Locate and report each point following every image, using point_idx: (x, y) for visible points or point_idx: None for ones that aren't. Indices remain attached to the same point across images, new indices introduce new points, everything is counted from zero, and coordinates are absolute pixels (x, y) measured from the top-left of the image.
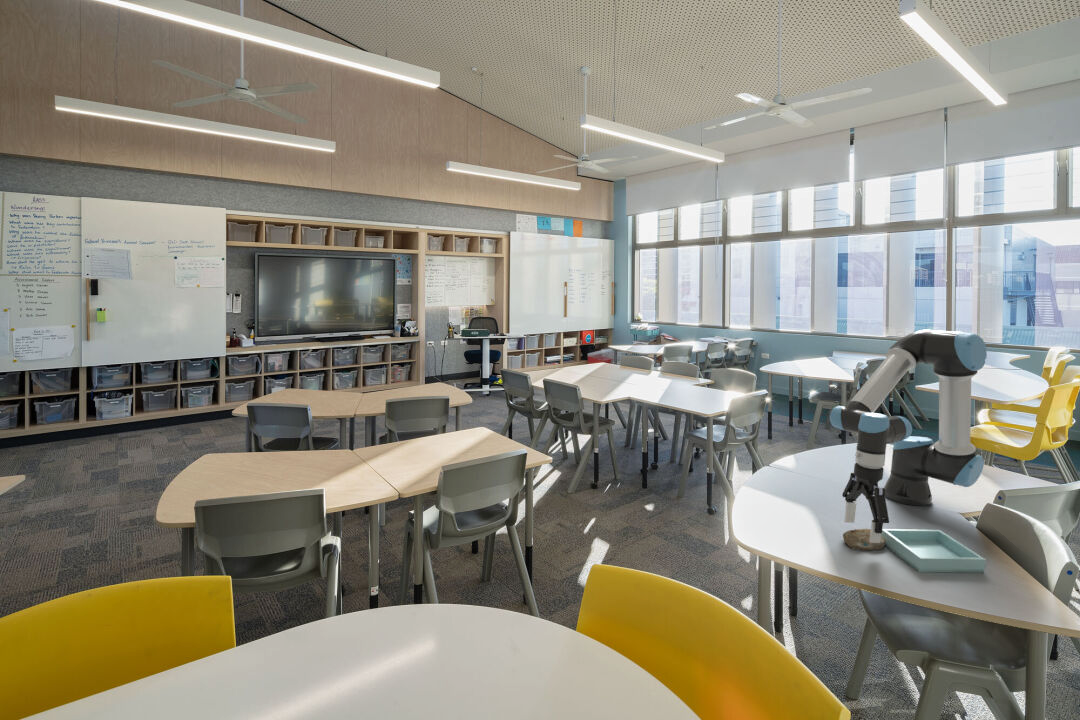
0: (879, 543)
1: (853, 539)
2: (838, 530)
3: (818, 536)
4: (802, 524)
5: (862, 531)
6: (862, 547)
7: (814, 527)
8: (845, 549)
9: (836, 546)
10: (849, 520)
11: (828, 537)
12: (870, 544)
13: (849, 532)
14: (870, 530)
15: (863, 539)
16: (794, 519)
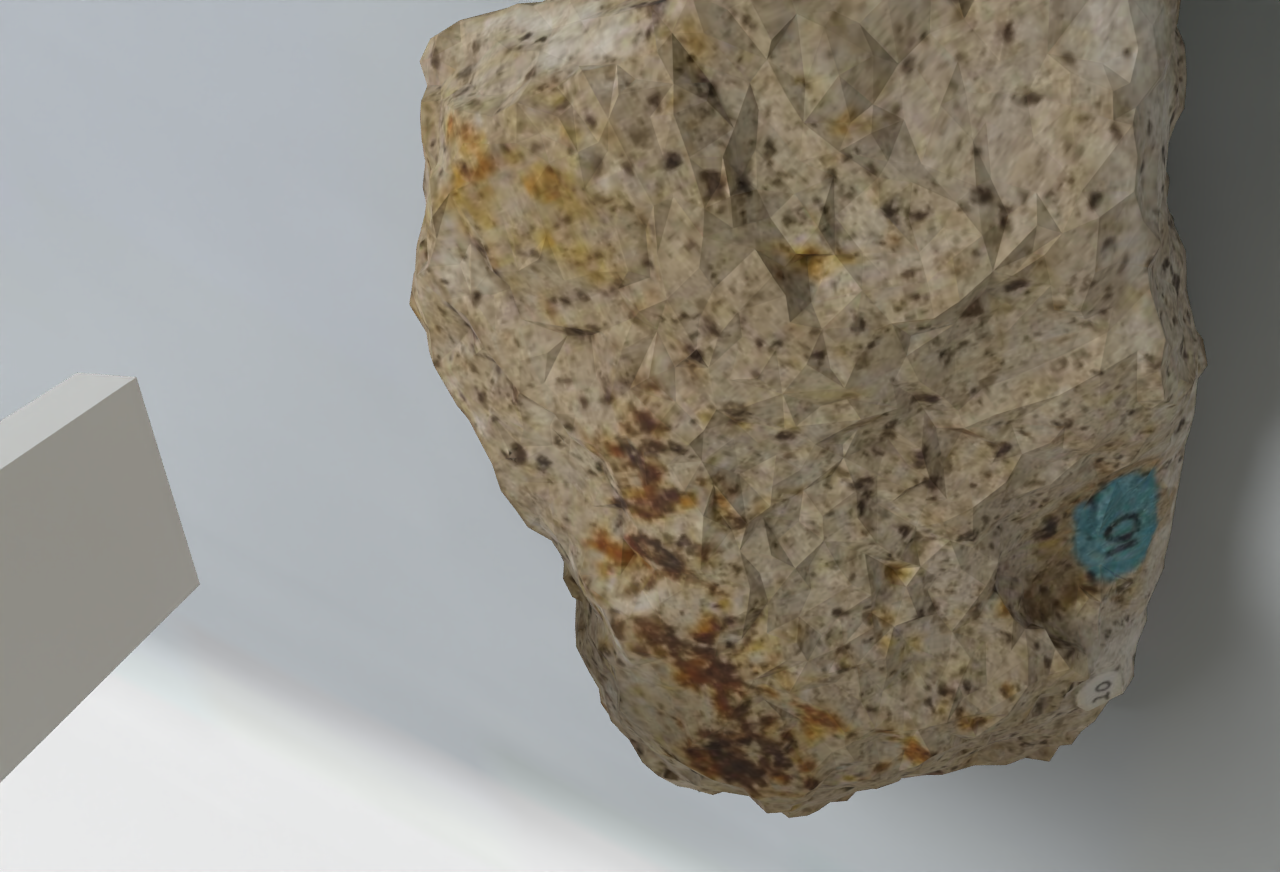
0: (1166, 122)
1: (962, 749)
2: (208, 433)
3: (538, 862)
4: (160, 827)
5: (714, 506)
6: (1158, 576)
7: (212, 737)
8: (1038, 772)
9: (905, 834)
10: (137, 538)
11: (552, 753)
12: (1173, 420)
13: (767, 809)
14: (628, 224)
15: (1001, 556)
16: (25, 828)
